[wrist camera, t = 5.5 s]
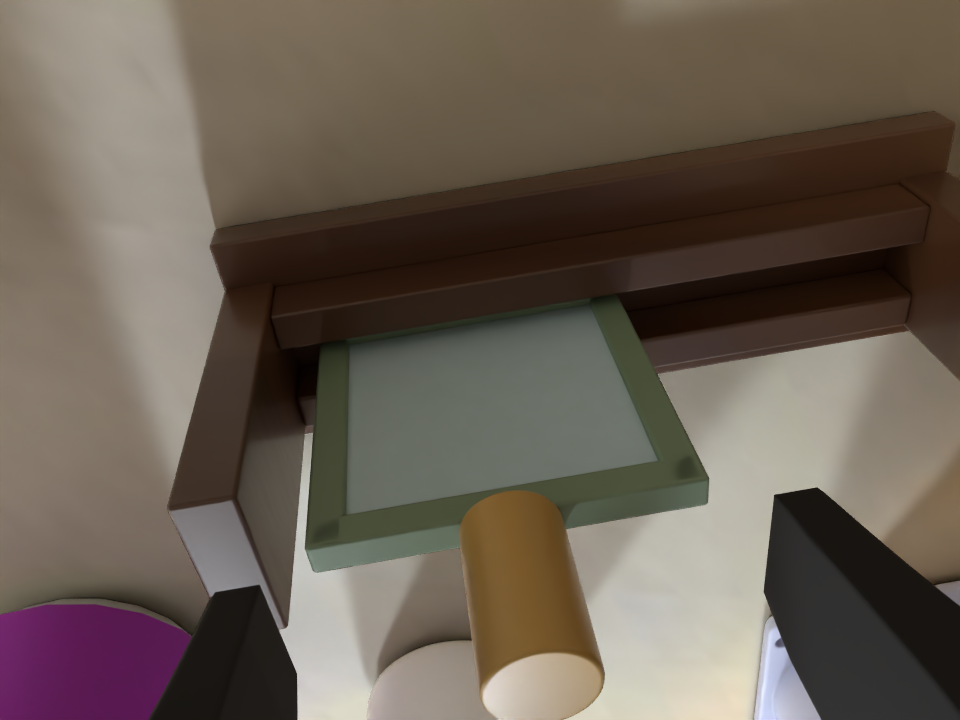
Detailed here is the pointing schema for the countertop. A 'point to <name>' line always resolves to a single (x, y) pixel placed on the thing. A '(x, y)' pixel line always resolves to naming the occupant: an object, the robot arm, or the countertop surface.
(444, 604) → the countertop surface
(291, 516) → the window frame
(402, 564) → the countertop surface
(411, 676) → the drinking glass
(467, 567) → the window pane
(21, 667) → the beverage can
